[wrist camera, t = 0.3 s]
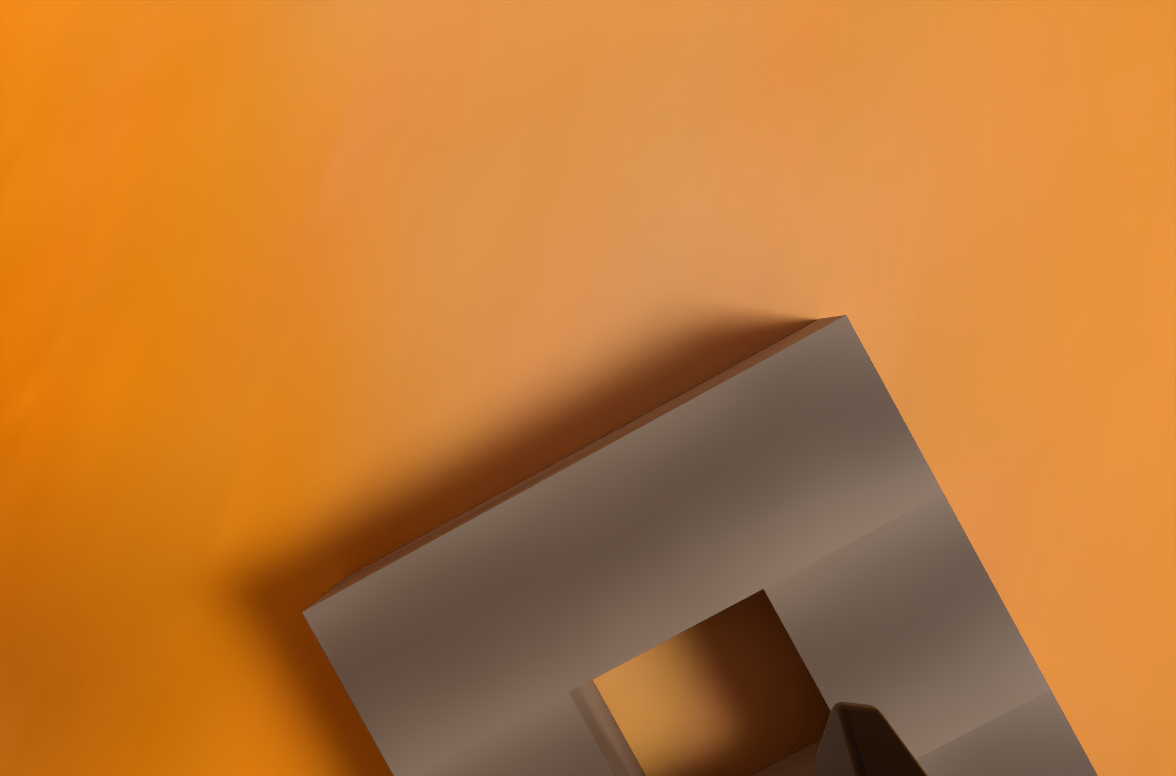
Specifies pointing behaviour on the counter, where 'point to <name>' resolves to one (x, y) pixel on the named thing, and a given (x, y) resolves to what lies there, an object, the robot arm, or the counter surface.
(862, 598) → the socket board
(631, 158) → the counter surface
